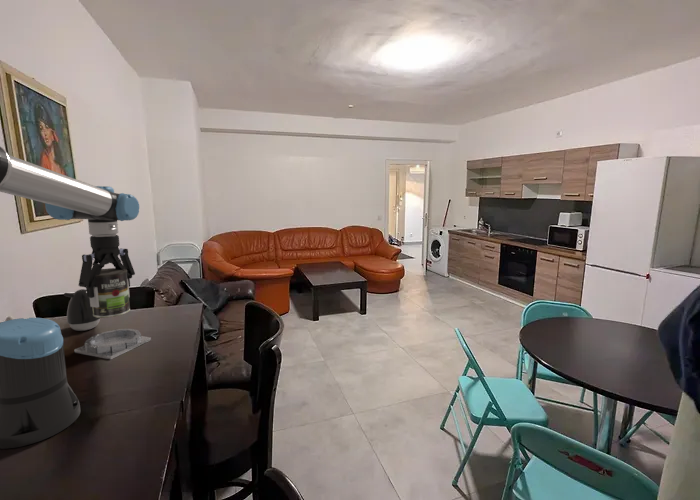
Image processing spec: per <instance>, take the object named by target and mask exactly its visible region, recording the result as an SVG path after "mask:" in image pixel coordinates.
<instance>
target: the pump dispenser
mask: <svg viewBox="0 0 700 500" xmlns="http://www.w3.org/2000/svg"><path fill="white" fill-rule="evenodd" d="M63 296H65V297H68V298H70V300H69V301H68V306H67V311H66V323H68V325H69V327H70V328H71V329H72V330H74V331H78V332H79V331H80V332H84V331H88V330H91V329H94V328H95V327H97V326H98V324H99V323H100V321H101V318H97V317H94V316H93V308H92V307H91V306H90V298H88V297H87V290H86V288H83V289H78V290H76V291H74V293H70V292H69V293H68V292H63Z"/></svg>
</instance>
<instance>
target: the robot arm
mask: <svg viewBox="0 0 700 500" xmlns="http://www.w3.org/2000/svg"><path fill="white" fill-rule="evenodd" d="M0 193H4V194H7V195H12V196H15V197H20V198H24V199H27V200H32V201H36V202H40V203H43V204H44V205H45V211H46V213H47V214H48V215H49V217H51V218H53V219H55V220H62V221H70V220H87V222H88V223H87V224H88V234H89V235H90V237H89V242H90V248H91V249H92V252H91V253H89V254H82V255H81V260H82V263H81V270H80V275H79V279H78V287H80V288H85V290H87V297H88V298H90V306H91V307H96V308H97V307H99V298H98V289H97V287H94V286H95V284H96V281H97V278H96V275H99V274H100V272H101V270H102V269H104V267H105V265H108V264H112V265H113V268H116V269H119V270H123V269H126V270H127V282H128V294H129V298H130V297H131V296H130V287H131V280H130V279H132V278H133V276H135V275H136V272H135V270H134V267H133V264H132V262H131V259H130V256H129V249H128V248H119V247H120V236H119V235H118V234H119V227H118V225H119V224H118V221H121V222H123V221H133V220H134V219H136V218H137V217H138V216H139V213H140V203H139V201H138V199H137V197H135V195H134V194H129V193H123V192H122V193H117V192H115V189H114V188H113V187H112V186H102V185H97V186H96V185H93V184H90V183H87V182H85V181H82V180H79V179H76V178H73V177H70V176H68V175H65V174H62V173H60V172H57V171H55V170H52V169H48V168H45V167H43V166H40V165H38V164H35V163H32V162H30V161H27V160H24V159H21V158H19V157H16V156H13V155H11V154H8V152H7V150H5V149H4V148H3V147H1V146H0ZM64 345H65V344H64V337H63V335H62V331H61V327H60V325H59V324H58V322H56V321H55V320H52V319H48V318H42V317H28V318H23V317H22V318H21V317H20V318H12V319H9V320H5V321H1V322H0V449H3V450H5V449H15V448H22V447H25V446H29V445H32V444H35V443H39V442H42V441H43V440H47V439H48V438H51V437H53V436H55V435H58V434H59V433H60V432H63V431H64V430H65V429H66V428H68V427H70V426H71V425H72V424H73V423H75V422H76V421H77V419H78V418H79V416H80V414H81V405H80V404H81V403H80V401H79V399H78V397H77V395H76V393H74V391H73V389H72V387H71V386H70V385H69V383H68V377H67V366H66V357H65V356H66V355H65V347H64Z"/></svg>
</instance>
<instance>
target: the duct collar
mask: <svg viewBox="0 0 700 500" xmlns="http://www.w3.org/2000/svg"><path fill="white" fill-rule="evenodd" d="M151 338H152V337H150V336H143V335H142V333H141V331H139V329H134V328H118V329H112V330H108V331H103V332H99V333H97V334H95V335H92V336H91V337H89V338H87V340H85V341H84V345H82V346H80V347H77V348H75V349H74V353H75V354H81V355H85V356H91V357H94V358H95V357H96V358H99V359H100V358H102V359H105V360H113V359H115V358H116V357H119V356H121V355H124V354H125V353H128V352H130V351H131V350H134V349H135V348H138V347H139V346H142V345H143V344H146V343H148V342H150V341H152V339H151Z"/></svg>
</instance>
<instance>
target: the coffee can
mask: <svg viewBox="0 0 700 500" xmlns="http://www.w3.org/2000/svg"><path fill="white" fill-rule="evenodd" d="M96 278H97V281H96V284H95V286H94V287H97V289H98V298H99V307H97V308H96V307H92V308H93V316H94V317H97V318H100V319H108V318H115V317H119V316H122V315H123V316H124V315H125V314H128V313H129V312H130V311H131V306H130V297H129V295H130V293H129V294H128V282H127V270H126V269H123V270H119V269H116V268H115V267H112V268H111V267H110V268H102V270H101V272H100V274H99V275H96Z"/></svg>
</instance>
